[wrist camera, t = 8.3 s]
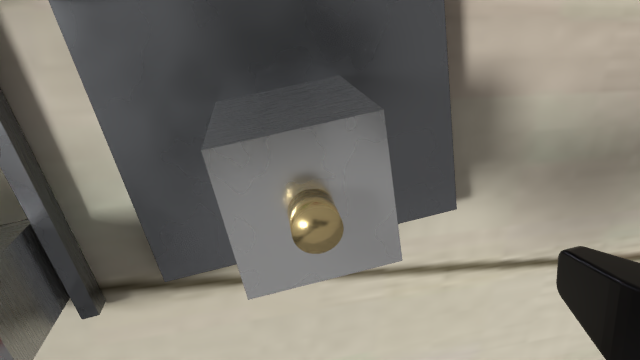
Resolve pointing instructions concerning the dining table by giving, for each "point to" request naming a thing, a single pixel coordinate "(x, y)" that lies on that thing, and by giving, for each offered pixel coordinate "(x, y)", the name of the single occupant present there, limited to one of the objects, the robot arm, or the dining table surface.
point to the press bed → (249, 78)
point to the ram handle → (26, 292)
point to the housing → (303, 184)
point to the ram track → (46, 215)
